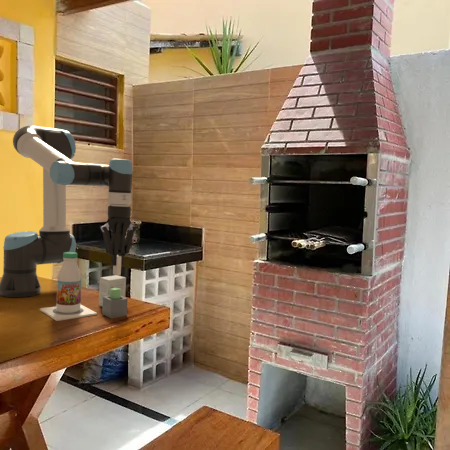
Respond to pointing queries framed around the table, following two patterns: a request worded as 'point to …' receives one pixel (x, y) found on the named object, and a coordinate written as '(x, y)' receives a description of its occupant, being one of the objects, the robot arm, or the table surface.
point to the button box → (114, 307)
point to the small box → (111, 286)
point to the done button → (115, 293)
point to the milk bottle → (69, 285)
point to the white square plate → (63, 316)
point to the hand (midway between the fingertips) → (116, 274)
